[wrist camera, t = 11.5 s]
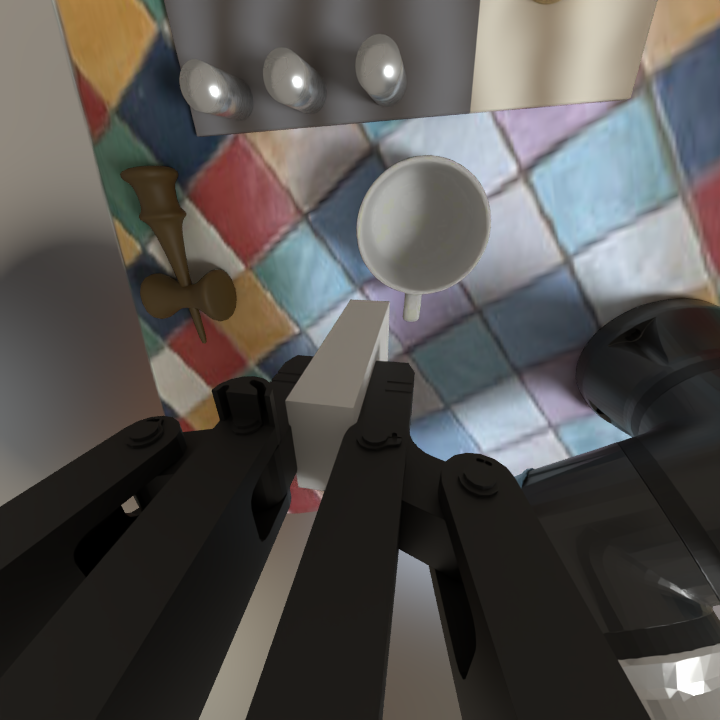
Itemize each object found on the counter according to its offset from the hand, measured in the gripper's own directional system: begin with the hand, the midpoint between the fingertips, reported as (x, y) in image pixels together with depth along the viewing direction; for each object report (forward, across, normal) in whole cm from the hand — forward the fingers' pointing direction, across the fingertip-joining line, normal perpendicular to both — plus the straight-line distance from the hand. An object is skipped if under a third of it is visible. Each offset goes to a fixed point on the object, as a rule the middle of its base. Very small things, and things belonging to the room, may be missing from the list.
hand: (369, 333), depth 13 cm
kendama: (+25, +26, +4) cm, 37 cm away
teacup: (+25, -1, 0) cm, 25 cm away
